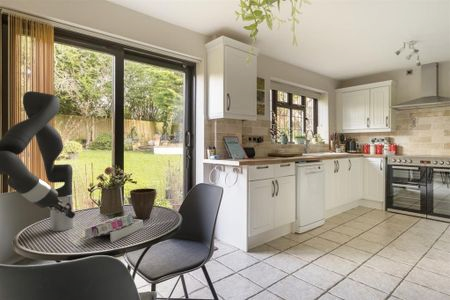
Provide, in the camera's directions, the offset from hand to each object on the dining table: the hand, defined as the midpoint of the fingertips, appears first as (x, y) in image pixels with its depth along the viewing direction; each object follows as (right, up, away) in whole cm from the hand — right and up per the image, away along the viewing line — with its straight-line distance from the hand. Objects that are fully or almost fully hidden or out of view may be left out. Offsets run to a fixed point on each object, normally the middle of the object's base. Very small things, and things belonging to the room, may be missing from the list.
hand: (72, 216), depth 100 cm
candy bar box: (+3, -10, +11) cm, 15 cm away
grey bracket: (+8, -13, +20) cm, 26 cm away
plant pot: (+14, -13, +45) cm, 49 cm away
